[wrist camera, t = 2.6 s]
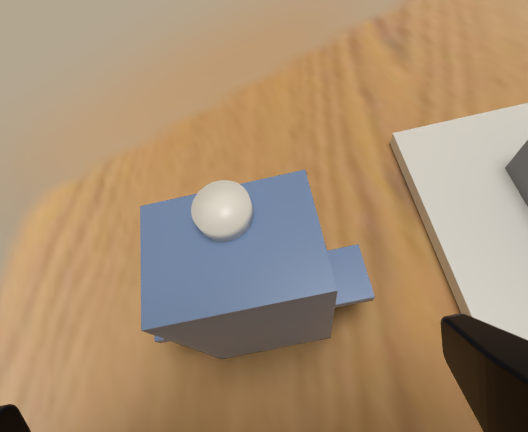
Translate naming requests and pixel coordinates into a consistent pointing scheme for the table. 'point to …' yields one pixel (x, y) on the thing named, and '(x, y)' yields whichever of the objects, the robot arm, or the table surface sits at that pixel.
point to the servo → (244, 268)
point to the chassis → (475, 208)
